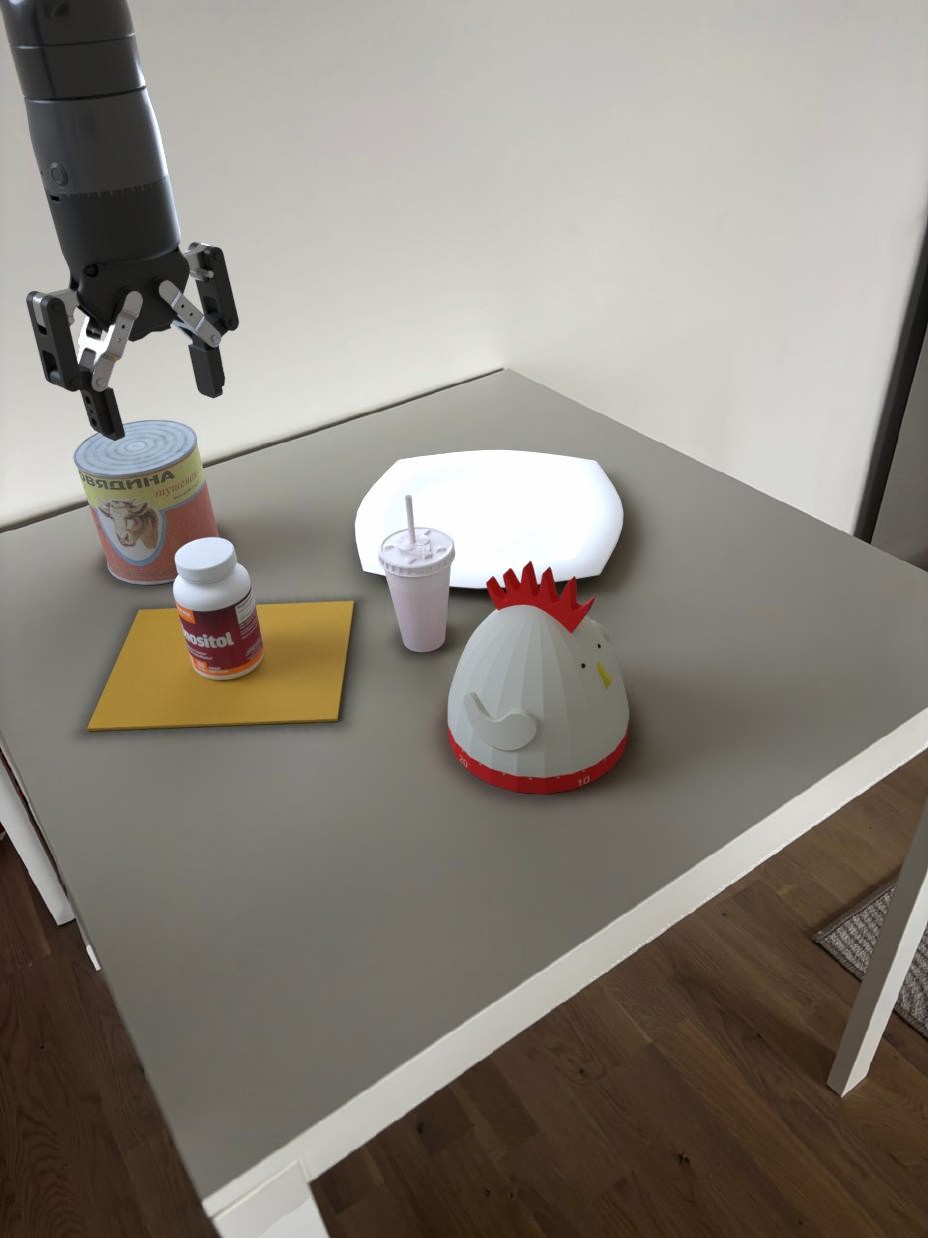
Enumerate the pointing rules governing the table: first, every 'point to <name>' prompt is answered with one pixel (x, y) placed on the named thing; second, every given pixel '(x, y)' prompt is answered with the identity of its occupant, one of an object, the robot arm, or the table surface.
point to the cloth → (270, 694)
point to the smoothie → (418, 581)
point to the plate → (499, 513)
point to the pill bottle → (217, 610)
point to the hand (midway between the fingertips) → (163, 415)
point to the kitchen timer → (537, 691)
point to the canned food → (146, 497)
